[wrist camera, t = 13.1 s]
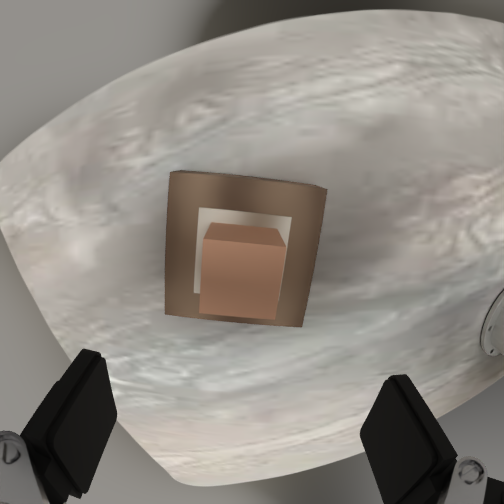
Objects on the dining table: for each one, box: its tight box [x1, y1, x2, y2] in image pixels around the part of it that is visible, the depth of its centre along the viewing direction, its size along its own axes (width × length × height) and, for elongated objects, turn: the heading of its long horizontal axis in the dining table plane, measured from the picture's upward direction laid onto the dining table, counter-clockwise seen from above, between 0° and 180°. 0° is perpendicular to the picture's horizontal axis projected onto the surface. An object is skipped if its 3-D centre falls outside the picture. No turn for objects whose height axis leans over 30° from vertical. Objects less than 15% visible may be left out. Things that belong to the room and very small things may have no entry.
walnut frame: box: [165, 170, 327, 327], centre depth 25 cm, size 12×12×4 cm
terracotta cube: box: [199, 222, 287, 320], centre depth 21 cm, size 5×5×5 cm
